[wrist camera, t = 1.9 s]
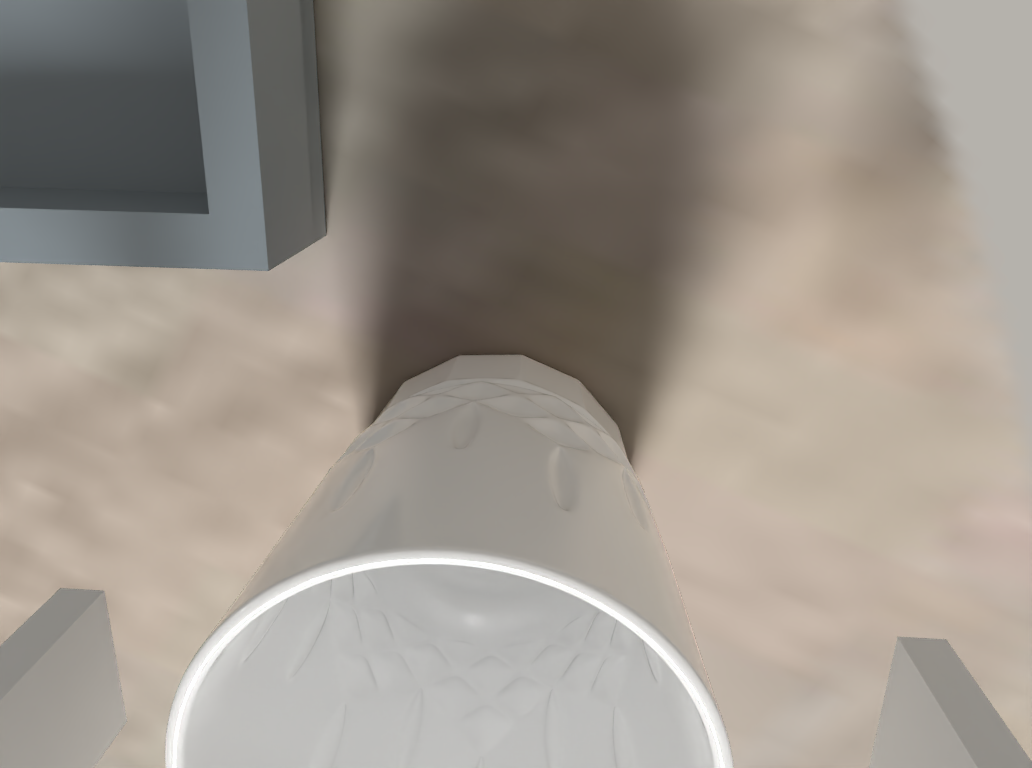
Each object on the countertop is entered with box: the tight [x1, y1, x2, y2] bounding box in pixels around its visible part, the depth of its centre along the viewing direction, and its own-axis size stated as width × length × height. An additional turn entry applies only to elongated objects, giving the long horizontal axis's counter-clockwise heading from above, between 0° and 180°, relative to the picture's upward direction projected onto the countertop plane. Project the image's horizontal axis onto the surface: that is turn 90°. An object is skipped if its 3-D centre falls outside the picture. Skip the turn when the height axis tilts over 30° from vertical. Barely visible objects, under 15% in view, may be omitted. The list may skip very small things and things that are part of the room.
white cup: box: [165, 355, 734, 768], centre depth 16 cm, size 8×8×10 cm
